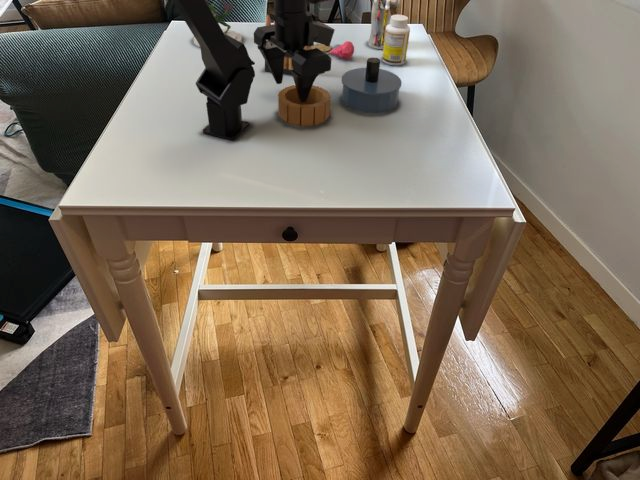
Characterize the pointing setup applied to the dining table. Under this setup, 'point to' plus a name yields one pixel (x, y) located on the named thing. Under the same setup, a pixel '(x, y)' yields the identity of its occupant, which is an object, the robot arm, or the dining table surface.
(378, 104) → the pot
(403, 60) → the supplement bottle
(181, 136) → the dining table surface
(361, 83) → the pot lid
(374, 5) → the clear pen holder cup
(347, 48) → the toy pieces
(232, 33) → the monster figurine
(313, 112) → the brown grooved ring
